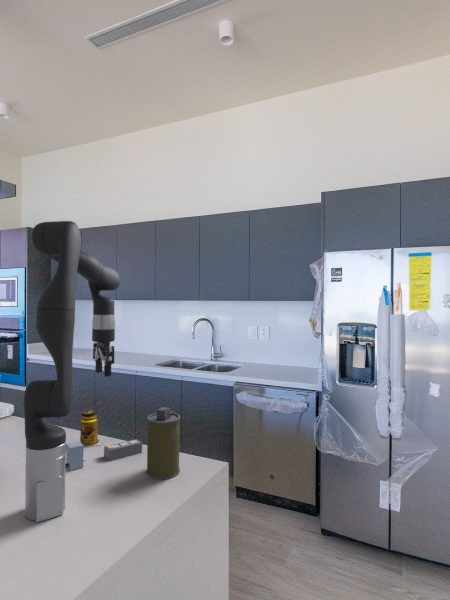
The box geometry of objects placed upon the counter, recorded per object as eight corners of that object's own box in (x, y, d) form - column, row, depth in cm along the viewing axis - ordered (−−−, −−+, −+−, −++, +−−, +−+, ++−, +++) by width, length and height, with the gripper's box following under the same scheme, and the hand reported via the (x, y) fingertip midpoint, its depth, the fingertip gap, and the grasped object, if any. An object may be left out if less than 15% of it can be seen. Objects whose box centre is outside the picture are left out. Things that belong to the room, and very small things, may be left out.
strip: (141, 452, 135) (142, 441, 135) (108, 461, 128) (108, 449, 128) (136, 448, 138) (136, 437, 138) (103, 456, 131) (104, 445, 131)
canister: (170, 482, 113) (171, 414, 113) (139, 476, 117) (140, 411, 117) (185, 467, 124) (186, 405, 124) (157, 462, 127) (158, 402, 127)
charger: (87, 466, 123) (87, 444, 123) (55, 474, 117) (55, 451, 117) (82, 461, 127) (82, 440, 127) (51, 468, 121) (52, 446, 121)
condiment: (80, 448, 138) (81, 415, 138) (76, 441, 145) (76, 409, 145) (101, 445, 142) (101, 412, 142) (96, 437, 149) (96, 407, 149)
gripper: (122, 328, 129) (121, 376, 129) (106, 326, 140) (106, 370, 140) (100, 329, 125) (99, 379, 125) (86, 326, 136) (85, 372, 136)
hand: (103, 374), depth 133 cm, fingers open, 8 cm apart
